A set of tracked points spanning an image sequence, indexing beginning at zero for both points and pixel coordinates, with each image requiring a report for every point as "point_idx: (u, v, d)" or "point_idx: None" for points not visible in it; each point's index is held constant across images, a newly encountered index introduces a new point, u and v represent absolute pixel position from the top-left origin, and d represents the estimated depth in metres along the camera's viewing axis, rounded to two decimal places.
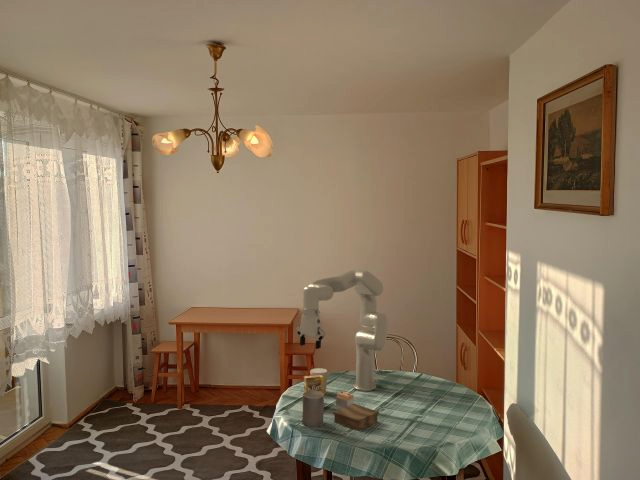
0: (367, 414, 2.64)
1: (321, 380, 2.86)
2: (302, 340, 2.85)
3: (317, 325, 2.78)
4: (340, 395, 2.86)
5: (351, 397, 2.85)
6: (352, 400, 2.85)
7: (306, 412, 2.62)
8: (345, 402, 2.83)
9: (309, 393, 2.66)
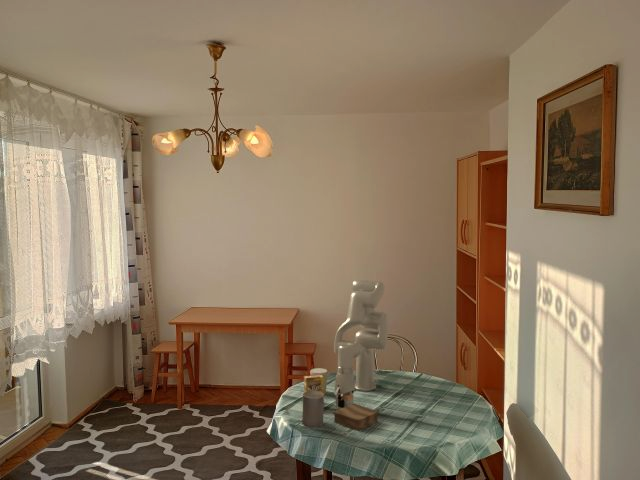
0: (367, 414, 2.64)
1: (321, 380, 2.86)
2: None
3: None
4: (340, 395, 2.85)
5: (351, 397, 2.84)
6: (352, 400, 2.85)
7: (306, 412, 2.62)
8: (345, 402, 2.83)
9: (309, 393, 2.66)
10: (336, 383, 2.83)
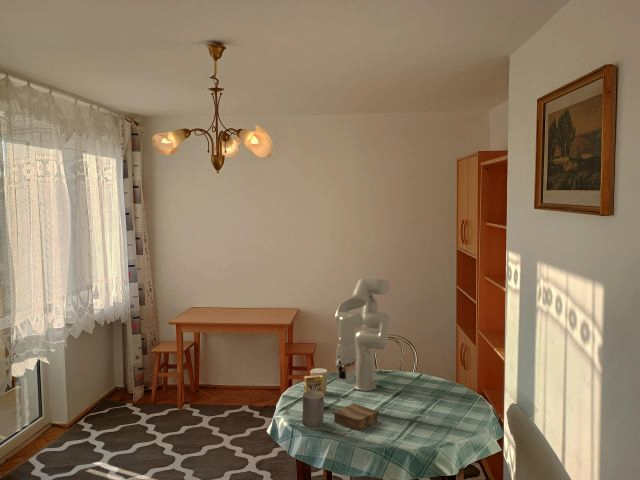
0: (367, 414, 2.64)
1: (321, 380, 2.86)
2: None
3: None
4: (341, 366, 2.85)
5: (352, 368, 2.84)
6: (353, 371, 2.85)
7: (306, 412, 2.62)
8: (346, 373, 2.82)
9: (309, 393, 2.66)
10: (337, 354, 2.82)
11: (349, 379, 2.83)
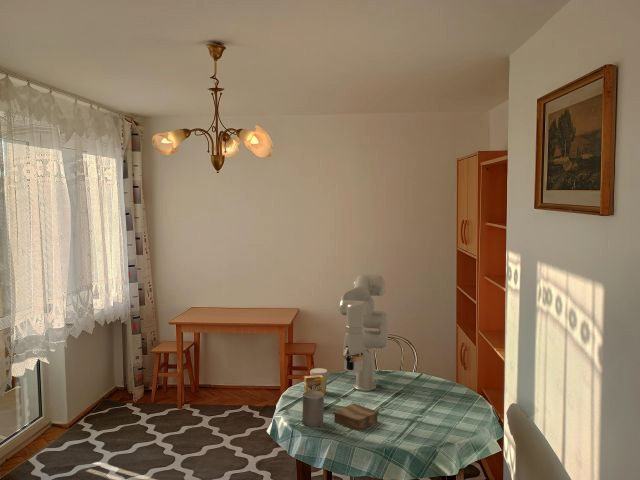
0: (367, 414, 2.64)
1: (321, 380, 2.86)
2: None
3: None
4: (349, 357, 2.70)
5: (360, 359, 2.69)
6: (361, 362, 2.70)
7: (306, 412, 2.62)
8: (354, 364, 2.67)
9: (309, 393, 2.66)
10: (344, 344, 2.68)
11: (357, 370, 2.68)
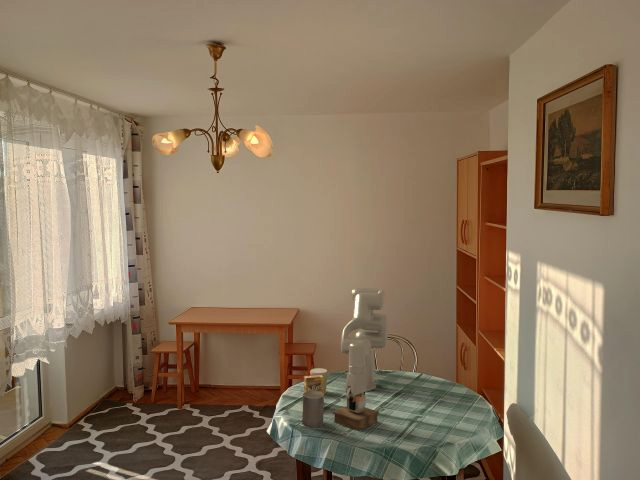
0: (367, 414, 2.64)
1: (321, 380, 2.86)
2: None
3: None
4: (351, 396, 2.66)
5: (363, 399, 2.65)
6: (364, 402, 2.66)
7: (306, 412, 2.62)
8: (357, 404, 2.64)
9: (309, 393, 2.66)
10: (347, 384, 2.64)
11: (360, 411, 2.64)
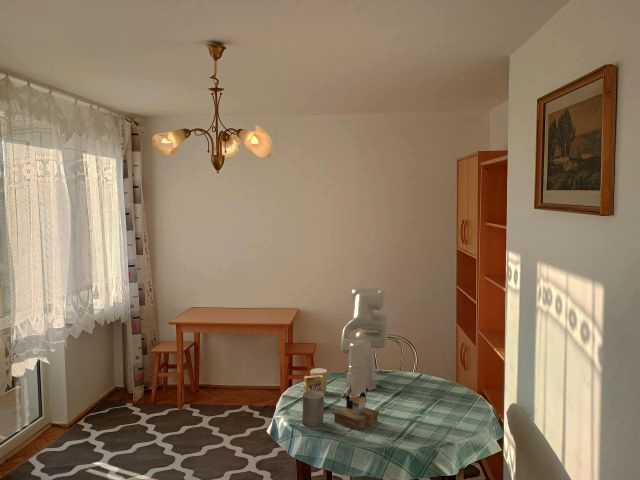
0: (367, 414, 2.64)
1: (321, 380, 2.86)
2: None
3: None
4: None
5: (363, 400, 2.65)
6: (364, 403, 2.66)
7: (306, 412, 2.62)
8: (357, 405, 2.64)
9: (309, 393, 2.66)
10: (347, 383, 2.64)
11: (360, 412, 2.64)
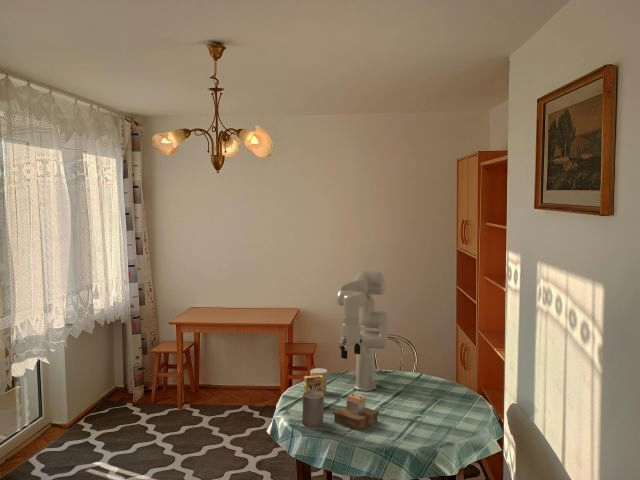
0: (367, 414, 2.64)
1: (321, 380, 2.86)
2: None
3: None
4: (351, 398, 2.66)
5: (363, 400, 2.65)
6: (364, 403, 2.66)
7: (306, 412, 2.62)
8: (357, 405, 2.64)
9: (309, 393, 2.66)
10: (342, 334, 2.71)
11: (360, 412, 2.64)
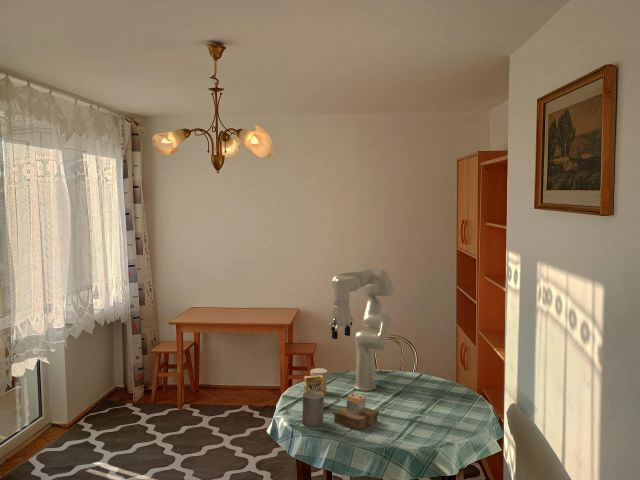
0: (367, 414, 2.64)
1: (321, 380, 2.86)
2: None
3: None
4: (351, 398, 2.66)
5: (363, 400, 2.65)
6: (364, 403, 2.66)
7: (306, 412, 2.62)
8: (357, 405, 2.64)
9: (309, 393, 2.66)
10: (332, 316, 2.84)
11: (360, 412, 2.64)
